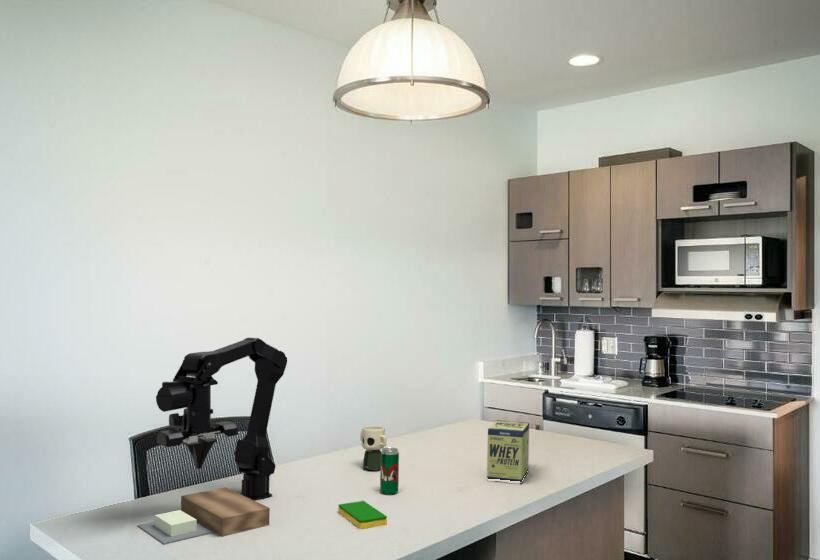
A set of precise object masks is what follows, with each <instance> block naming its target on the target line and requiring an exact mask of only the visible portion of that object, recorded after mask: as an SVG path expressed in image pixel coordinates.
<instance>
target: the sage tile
mask: <svg viewBox="0 0 820 560" xmlns="http://www.w3.org/2000/svg"><path fill="white" fill-rule="evenodd" d="M154 521H155V526H156V527H157V528H159V529H160V530H162V531H163V532H165V533H166V534H168V535H169V536H171V537H172V536H176V535H180V534H184V533H188V532H193V531H197V524H198V522H197V519H195V518H193V517H191V516H190V515H188V514H186V513H184V512H183V511H181V509H177V510H173V511H169V512H163V513H159V514H155V515H154Z"/></svg>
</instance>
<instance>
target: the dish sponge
mask: <svg viewBox="0 0 820 560" xmlns="http://www.w3.org/2000/svg"><path fill="white" fill-rule="evenodd" d="M337 510H338V511H337V512H338V514H340V515H341V516H342V517H344V518H345V519H346V520H348V521H349V522H350V523H351V524H353V525H354V526H356V527H357V528H358V529H360V530H364V529H370V528H374V527H375V528H376V527H382V526H387V525H388V519H387V518H388V516H387V515H385V514H384V513H383V512H382V511H380V510H378V509H376V508H375V507H373V506H372V505H370V504H369V503H368V502H366V501H365V500H360V501H353V502H345V503H340V504H338V509H337Z"/></svg>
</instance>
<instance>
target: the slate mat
mask: <svg viewBox="0 0 820 560" xmlns="http://www.w3.org/2000/svg"><path fill="white" fill-rule="evenodd" d="M137 528H140V529H141V530H143V531H144V532H145V533H147V534H148V535H149V536H151V537H152V538H154V539H155V540H156V541H158V542H160V543H161V544H163V545H167V544H168V545H169V544H173V543H176V542H180V541H185V540H188V539H193V538H197V537H201V536H205V535H209V534H212V530H211V531H210V529H208V528H207V527H206V528H205V526H203V525H202V524H201V525H200V523H197V531H193V532H188V533H184V534H180V535H176V536H172V537H171V536H169V535H168V534H166V533H165V532H163V531H162V530H160V529H159V528H157V527H156V526H155V520H154V521H151V522H146V523H141V524H137Z"/></svg>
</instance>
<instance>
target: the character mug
mask: <svg viewBox="0 0 820 560" xmlns="http://www.w3.org/2000/svg"><path fill="white" fill-rule="evenodd" d="M359 435H360V437H359V438H360V442H361V447H362V448H363V450H364V449H365V451H364V455H363V462H362V468H363V469H364V470H369V471H377V470H379V469H380V467H381V452H382V449H383V448H385V447H386V446H387V440H388V439H387V435H386V428H385V427H384V426H382V425H364V426H362V428H361V431H360V433H359Z"/></svg>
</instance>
